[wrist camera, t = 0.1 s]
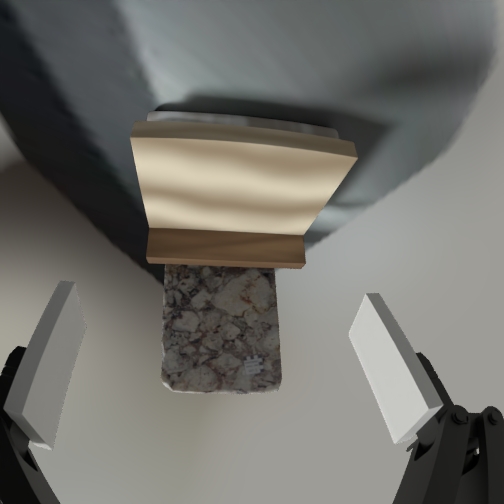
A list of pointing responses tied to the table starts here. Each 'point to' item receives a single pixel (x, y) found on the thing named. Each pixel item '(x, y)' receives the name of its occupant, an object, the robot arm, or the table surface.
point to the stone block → (220, 330)
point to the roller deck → (234, 186)
